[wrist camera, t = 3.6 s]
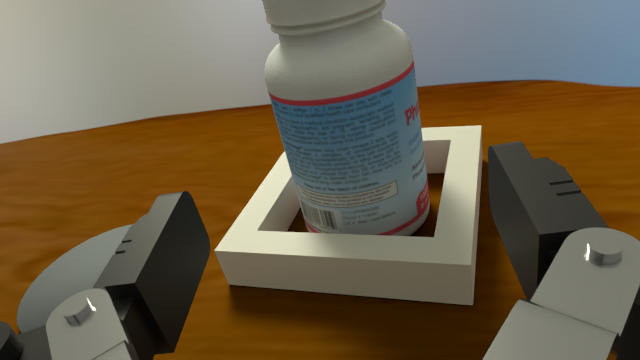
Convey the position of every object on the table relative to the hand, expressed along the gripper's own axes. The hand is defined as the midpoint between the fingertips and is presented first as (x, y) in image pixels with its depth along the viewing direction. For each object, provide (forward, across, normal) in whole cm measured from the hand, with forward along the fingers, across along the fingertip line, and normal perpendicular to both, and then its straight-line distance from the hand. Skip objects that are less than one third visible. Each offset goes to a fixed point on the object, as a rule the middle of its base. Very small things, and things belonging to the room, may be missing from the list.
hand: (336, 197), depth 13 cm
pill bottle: (+8, 0, +7) cm, 11 cm away
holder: (+8, 0, +7) cm, 11 cm away
